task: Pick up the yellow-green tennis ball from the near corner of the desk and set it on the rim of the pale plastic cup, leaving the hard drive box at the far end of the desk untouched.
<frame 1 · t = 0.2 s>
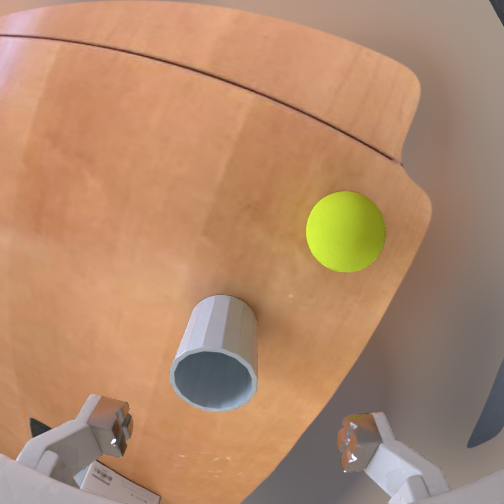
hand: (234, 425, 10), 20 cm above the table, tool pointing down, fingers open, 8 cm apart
hard drive box: (120, 481, 43), on the table
tennis ball: (346, 231, 25), point 3 cm above the table
cup: (223, 324, 31), on the table
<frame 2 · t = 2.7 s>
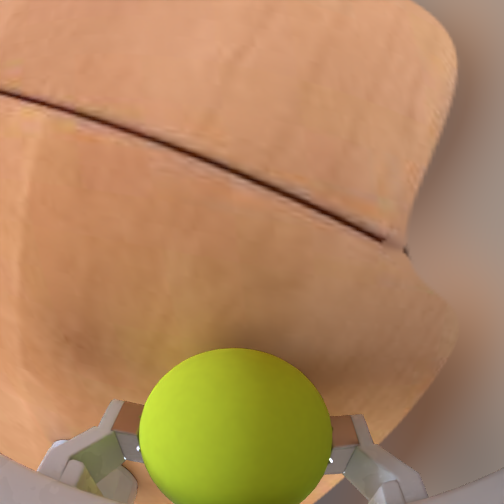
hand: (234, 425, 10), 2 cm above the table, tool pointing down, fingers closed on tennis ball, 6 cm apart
tennis ball: (235, 438, 9), point 3 cm above the table, touching gripper
cup: (93, 469, 16), on the table
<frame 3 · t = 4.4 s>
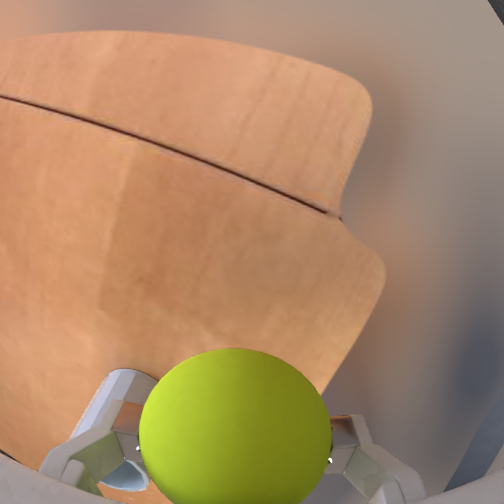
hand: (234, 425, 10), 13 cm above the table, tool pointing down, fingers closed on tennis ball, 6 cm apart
tennis ball: (235, 438, 9), point 13 cm above the table, touching gripper
cup: (136, 396, 26), on the table
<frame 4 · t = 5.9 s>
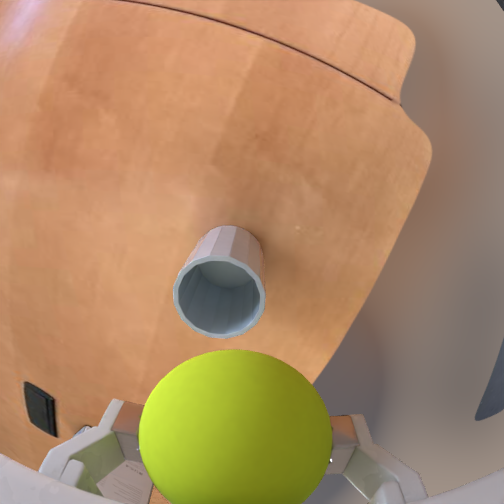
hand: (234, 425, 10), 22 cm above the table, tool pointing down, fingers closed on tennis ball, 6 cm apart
hard drive box: (115, 453, 44), on the table
tennis ball: (235, 439, 9), point 23 cm above the table, touching gripper
cup: (228, 258, 31), on the table
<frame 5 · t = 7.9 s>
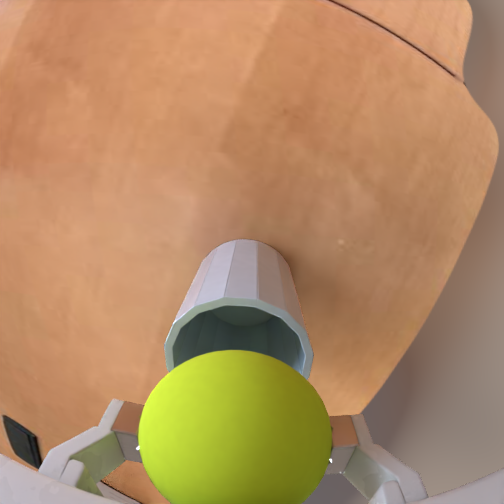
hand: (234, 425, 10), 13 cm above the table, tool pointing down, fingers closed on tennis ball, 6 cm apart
hard drive box: (108, 493, 34), on the table
tennis ball: (235, 440, 9), point 14 cm above the table, touching gripper
cup: (244, 285, 22), on the table
when the fingers open (10 cm above the table, at t = 9.3 s): tennis ball stays where it is, resting on cup.
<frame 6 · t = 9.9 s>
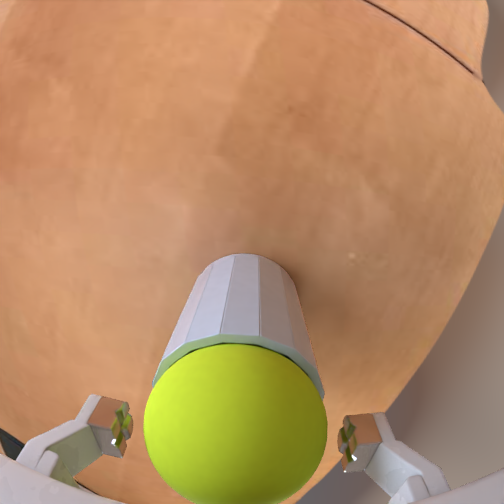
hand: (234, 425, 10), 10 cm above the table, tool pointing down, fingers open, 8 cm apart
tennis ball: (235, 429, 10), point 10 cm above the table, touching cup
cup: (244, 304, 20), on the table, touching tennis ball
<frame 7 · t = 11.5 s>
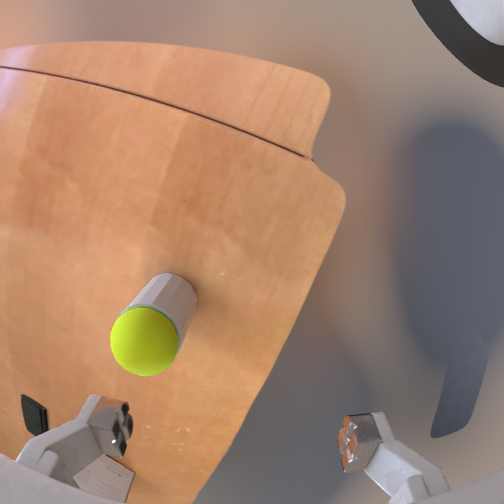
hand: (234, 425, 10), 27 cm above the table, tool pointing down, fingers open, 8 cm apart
hard drive box: (98, 457, 48), on the table
tennis ball: (144, 341, 28), point 10 cm above the table, touching cup
cup: (170, 298, 38), on the table, touching tennis ball
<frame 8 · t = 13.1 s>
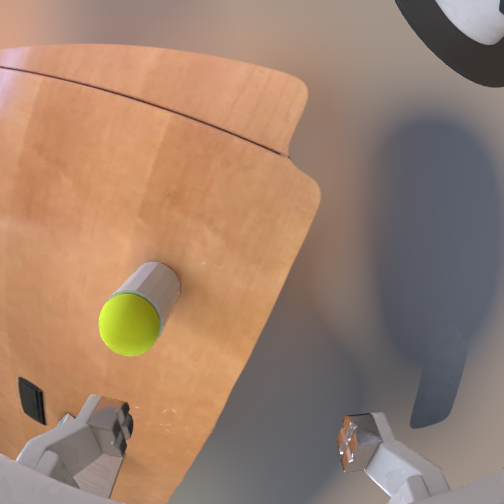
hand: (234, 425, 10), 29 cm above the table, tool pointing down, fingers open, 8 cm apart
hard drive box: (91, 438, 52), on the table
tennis ball: (128, 324, 30), point 10 cm above the table, touching cup
cup: (156, 285, 40), on the table, touching tennis ball
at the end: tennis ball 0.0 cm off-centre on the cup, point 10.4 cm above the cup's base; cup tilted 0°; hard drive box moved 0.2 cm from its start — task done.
